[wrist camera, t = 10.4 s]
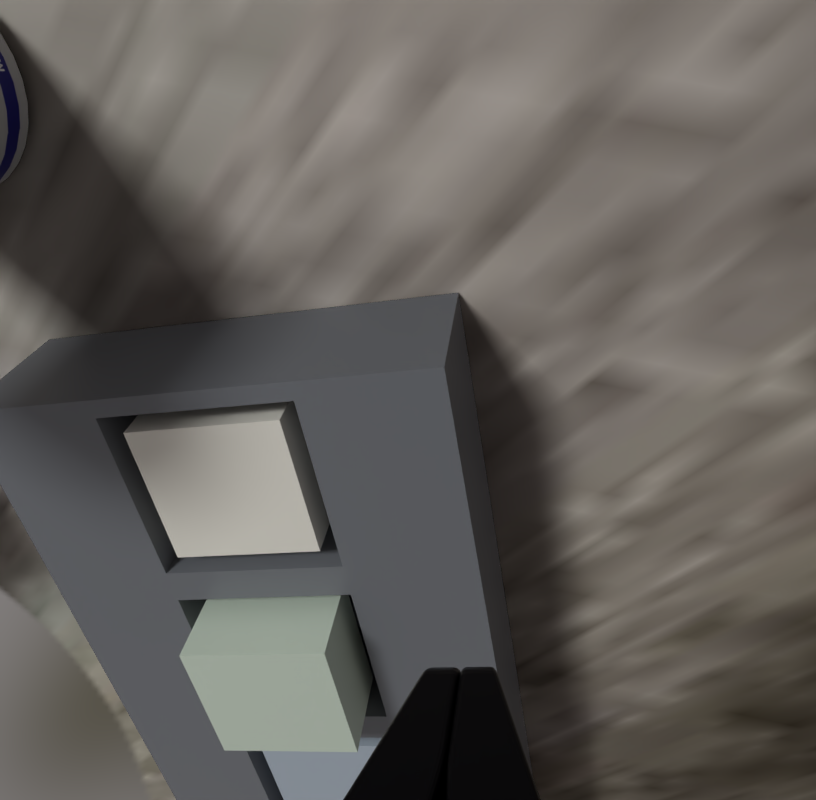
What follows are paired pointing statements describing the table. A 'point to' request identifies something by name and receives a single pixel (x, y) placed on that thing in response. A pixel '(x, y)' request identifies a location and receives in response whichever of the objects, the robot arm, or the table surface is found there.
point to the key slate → (318, 771)
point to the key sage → (281, 672)
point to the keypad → (275, 572)
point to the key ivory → (231, 479)
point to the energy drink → (11, 112)
